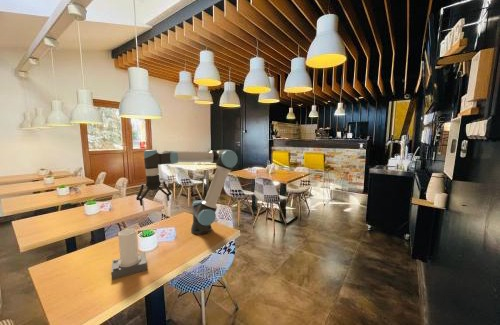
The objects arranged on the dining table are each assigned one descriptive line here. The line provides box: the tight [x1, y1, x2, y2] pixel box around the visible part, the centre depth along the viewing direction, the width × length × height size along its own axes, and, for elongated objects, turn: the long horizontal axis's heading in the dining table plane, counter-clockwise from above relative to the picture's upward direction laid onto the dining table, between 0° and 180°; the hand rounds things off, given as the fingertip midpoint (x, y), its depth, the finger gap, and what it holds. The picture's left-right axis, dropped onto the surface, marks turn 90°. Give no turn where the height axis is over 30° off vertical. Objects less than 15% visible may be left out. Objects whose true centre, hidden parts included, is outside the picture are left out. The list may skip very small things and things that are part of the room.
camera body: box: [110, 252, 148, 281], centre depth 116 cm, size 16×12×5 cm
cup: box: [117, 228, 139, 265], centre depth 115 cm, size 8×8×16 cm
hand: (155, 208), depth 136 cm, fingers open, 13 cm apart
